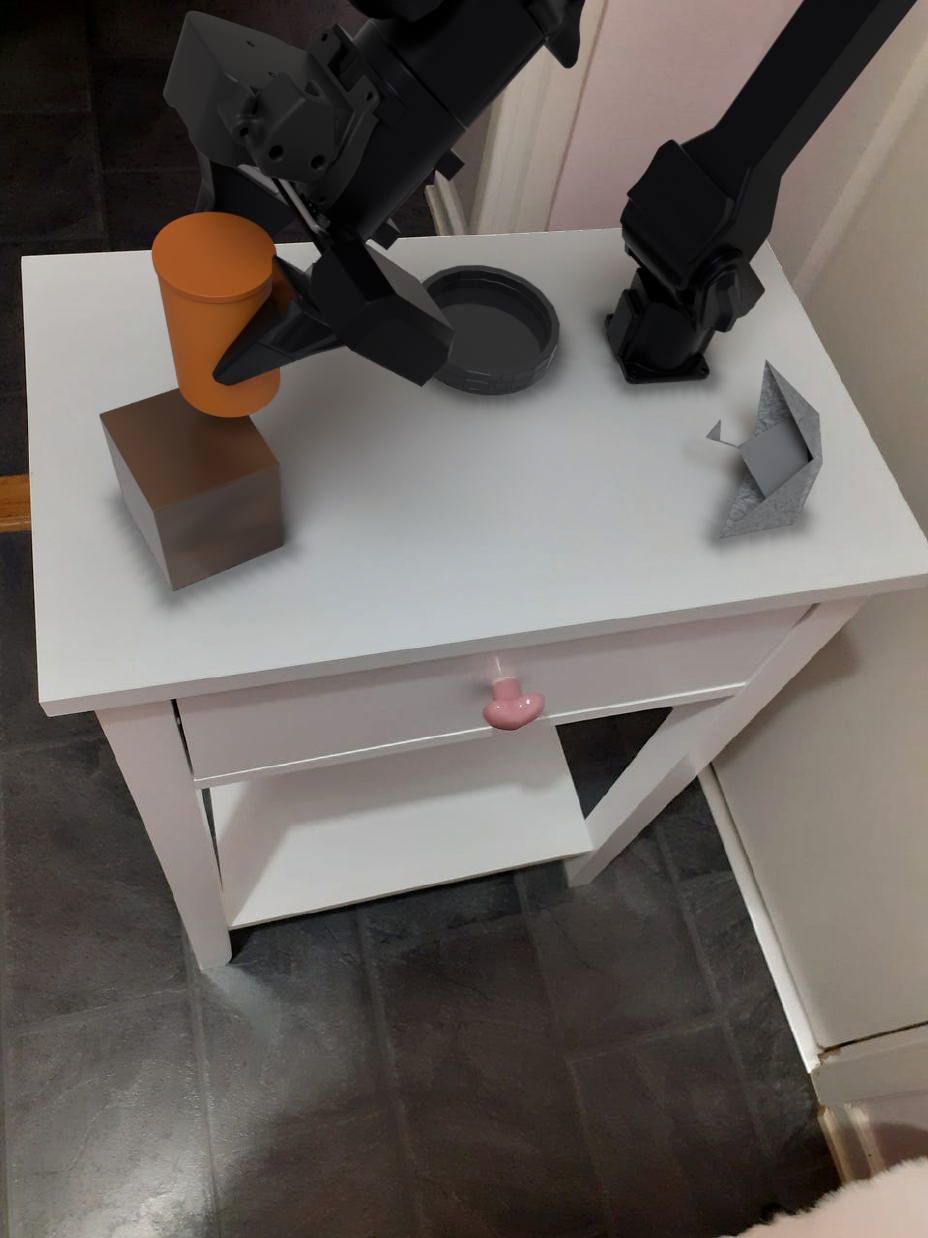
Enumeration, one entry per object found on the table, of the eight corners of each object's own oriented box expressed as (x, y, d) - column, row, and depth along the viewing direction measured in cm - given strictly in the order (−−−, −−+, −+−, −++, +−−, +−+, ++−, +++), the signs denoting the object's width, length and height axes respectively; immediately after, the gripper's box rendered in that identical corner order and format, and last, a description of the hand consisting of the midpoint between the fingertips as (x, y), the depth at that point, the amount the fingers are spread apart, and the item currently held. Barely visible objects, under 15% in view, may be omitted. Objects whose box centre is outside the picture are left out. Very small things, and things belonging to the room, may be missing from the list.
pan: (533, 283, 70) (538, 262, 68) (569, 390, 65) (576, 370, 64) (395, 288, 68) (398, 266, 66) (423, 399, 63) (426, 379, 61)
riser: (232, 462, 58) (222, 372, 51) (283, 546, 56) (280, 463, 49) (124, 502, 56) (98, 413, 49) (172, 591, 53) (153, 511, 46)
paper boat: (830, 561, 60) (714, 528, 57) (766, 557, 66) (658, 526, 63) (874, 380, 60) (760, 336, 56) (806, 391, 66) (699, 352, 62)
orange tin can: (278, 339, 50) (272, 211, 43) (286, 417, 47) (281, 296, 40) (174, 340, 49) (150, 210, 42) (176, 421, 46) (151, 297, 39)
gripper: (187, -190, 35) (-22, 136, 41) (417, 105, 29) (129, 443, 34) (364, -2, 45) (173, 241, 51) (567, 252, 38) (321, 497, 44)
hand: (197, 340), depth 45 cm, fingers closed on orange tin can, 5 cm apart
